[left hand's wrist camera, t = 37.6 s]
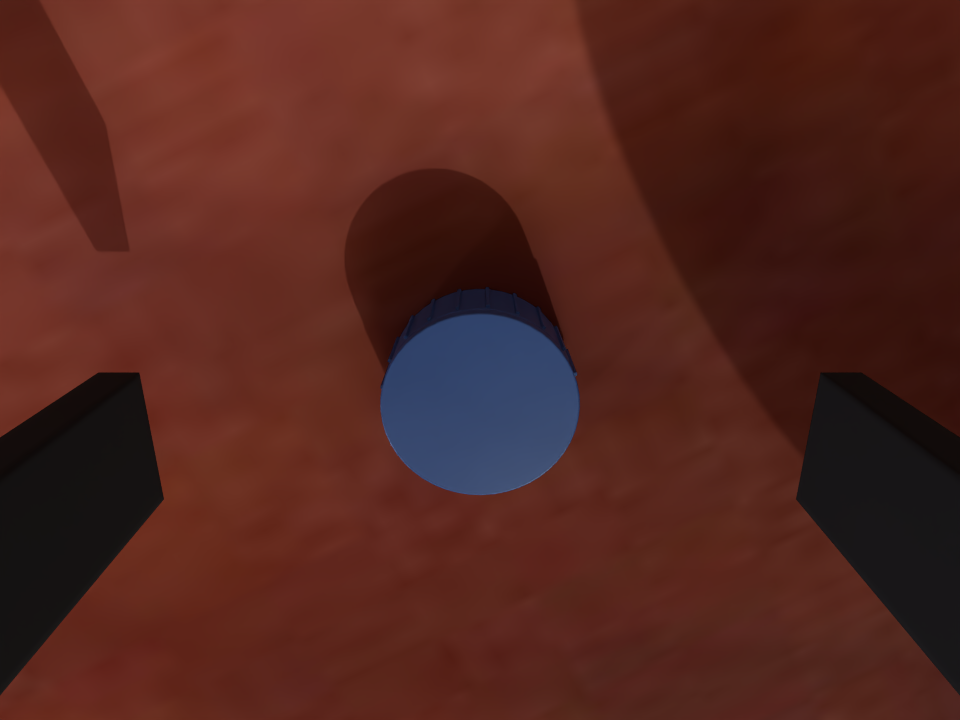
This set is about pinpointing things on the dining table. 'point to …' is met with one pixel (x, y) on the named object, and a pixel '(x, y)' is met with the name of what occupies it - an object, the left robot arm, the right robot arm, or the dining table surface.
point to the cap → (480, 393)
